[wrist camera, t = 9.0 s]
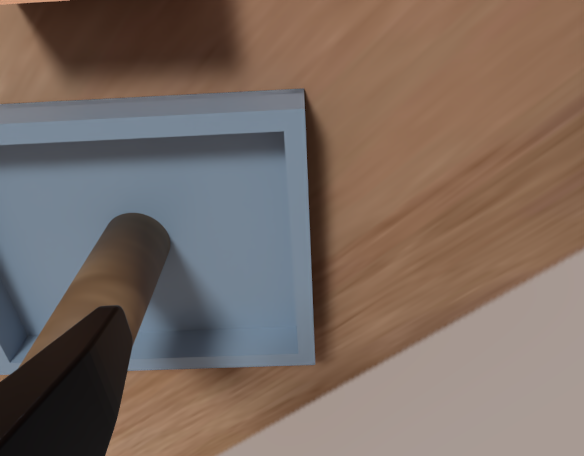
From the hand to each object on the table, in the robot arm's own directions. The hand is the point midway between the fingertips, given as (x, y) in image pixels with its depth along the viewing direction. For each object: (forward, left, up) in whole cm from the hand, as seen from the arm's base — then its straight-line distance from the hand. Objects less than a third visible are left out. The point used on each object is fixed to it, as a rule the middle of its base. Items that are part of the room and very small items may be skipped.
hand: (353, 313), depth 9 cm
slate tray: (+9, +6, -12) cm, 16 cm away
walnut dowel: (+9, +6, -12) cm, 16 cm away
